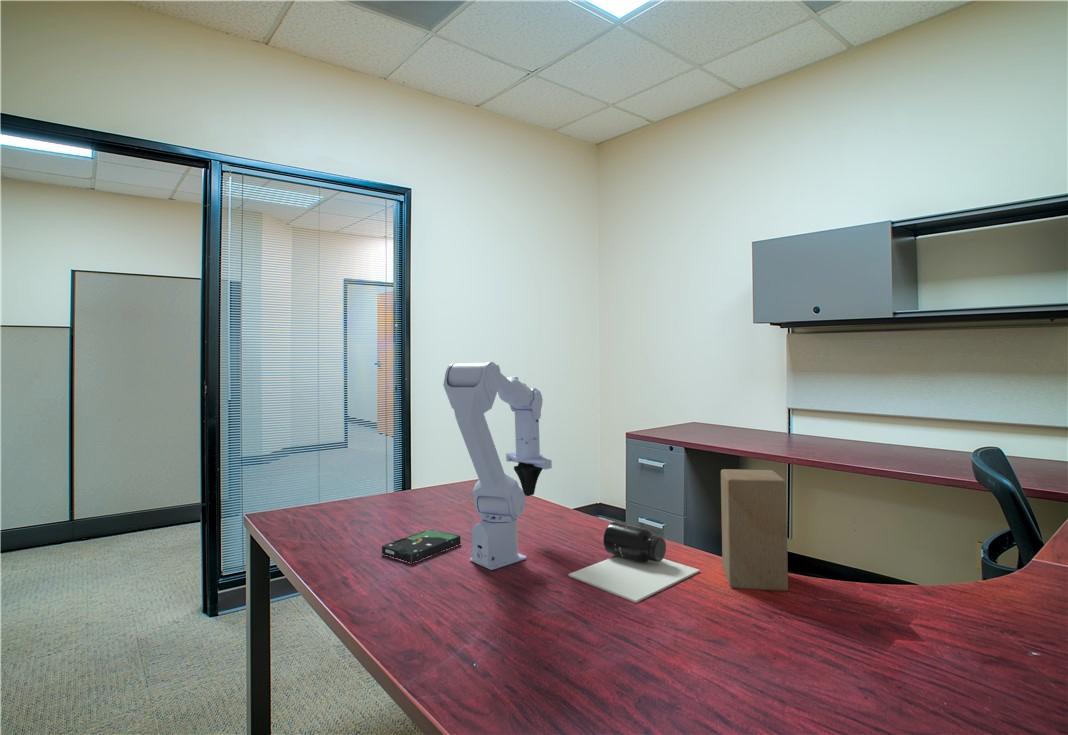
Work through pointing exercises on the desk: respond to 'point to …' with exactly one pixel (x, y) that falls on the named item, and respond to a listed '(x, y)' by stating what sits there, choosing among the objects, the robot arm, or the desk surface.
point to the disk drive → (420, 545)
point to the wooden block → (754, 529)
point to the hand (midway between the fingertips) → (529, 494)
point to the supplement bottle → (633, 543)
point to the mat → (633, 576)
